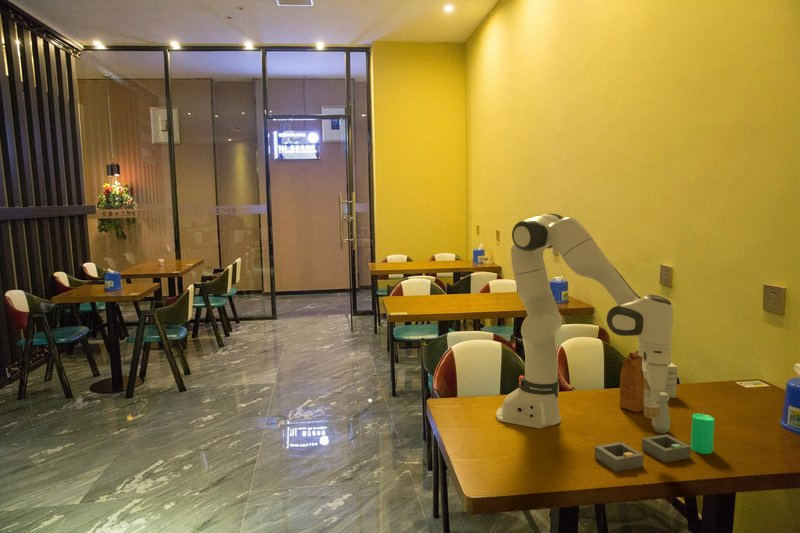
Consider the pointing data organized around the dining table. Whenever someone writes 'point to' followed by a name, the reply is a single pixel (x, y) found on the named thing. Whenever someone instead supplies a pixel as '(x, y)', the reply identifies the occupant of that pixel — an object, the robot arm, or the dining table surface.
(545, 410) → the robot arm
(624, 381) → the coffee package
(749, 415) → the dining table surface
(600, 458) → the gray open box
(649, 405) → the sprinkles bottle
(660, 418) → the salt shaker
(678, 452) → the grey square tray
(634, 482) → the dining table surface
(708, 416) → the candle
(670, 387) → the supplement box
